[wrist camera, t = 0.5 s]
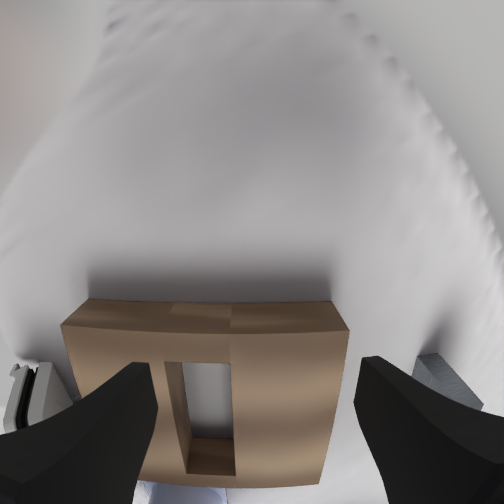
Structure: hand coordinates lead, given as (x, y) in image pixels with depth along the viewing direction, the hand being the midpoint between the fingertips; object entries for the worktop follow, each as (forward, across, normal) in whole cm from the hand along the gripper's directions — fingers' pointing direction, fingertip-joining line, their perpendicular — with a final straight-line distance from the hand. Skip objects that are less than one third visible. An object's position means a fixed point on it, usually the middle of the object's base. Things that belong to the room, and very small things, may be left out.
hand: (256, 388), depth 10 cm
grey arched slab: (+10, +16, +15) cm, 24 cm away
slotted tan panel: (+10, +3, +8) cm, 13 cm away
